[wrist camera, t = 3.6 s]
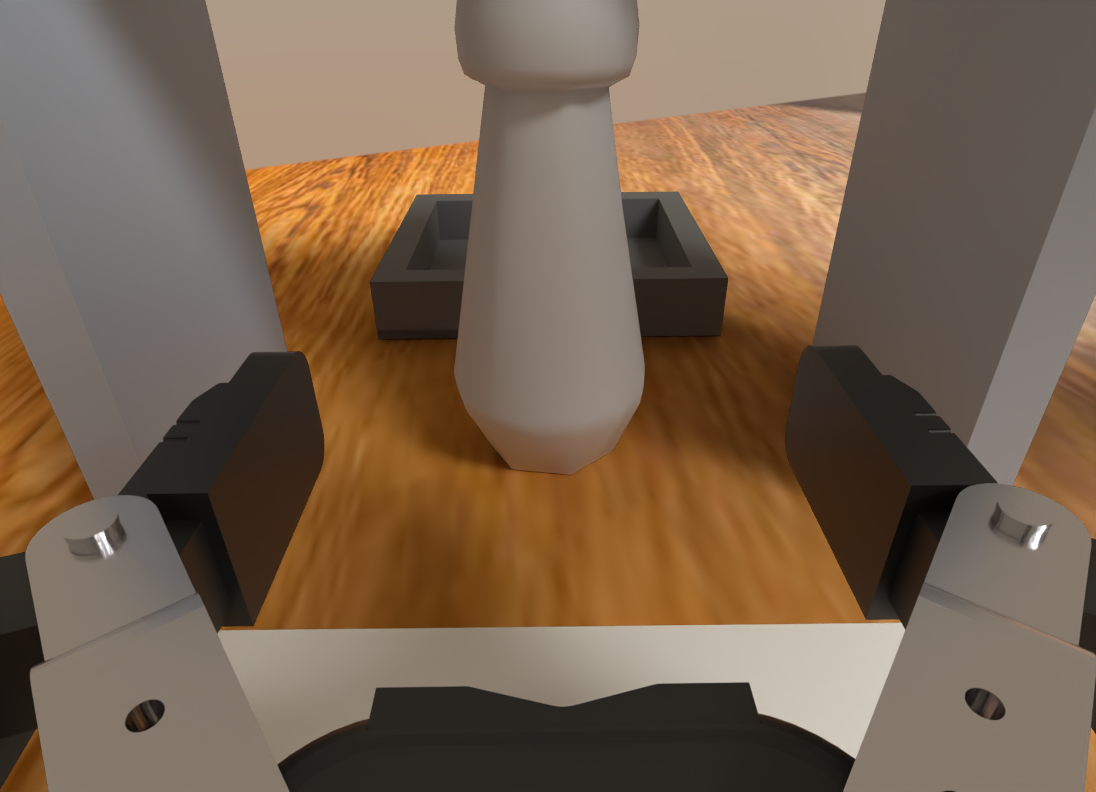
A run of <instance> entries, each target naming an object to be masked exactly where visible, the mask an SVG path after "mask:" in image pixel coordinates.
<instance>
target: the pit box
mask: <svg viewBox="0 0 1096 792" xmlns="http://www.w3.org/2000/svg"><path fill="white" fill-rule="evenodd" d="M621 198H622V207H623V214H624V221H625V228H626V235H627V242H628V249H629V256H630V263H631V271H632V278H633V285H634V292H635V299H636V306H637V313H638V320H639V327H640V334H641V336H705V335H721V328H722V321H723V313H724V306H725V298H726V291H727V283H728V277H727V275H726V273H725V272H724V270H723V268H722V266H721V265H720V263H719V261H718V260H717V258H716V256H715V254H714V253H713V251H712V249H711V247H710V246H709V244H708V242H707V241H706V239H705V237H704V235H703V234H702V232H701V230H700V228H699V227H698V225H697V223H696V222H695V220H694V218H693V216H692V215H691V213H690V211H689V210H688V208H687V206H686V204H685V203H684V201H683V199H682V197H681V196H680V194H679V192H621ZM472 202H473V194H435V195H416V197H415V199H414V201H413V203H412V205H411V207H410V208H409V210H408V212H407V214H406V216H405V218H404V220H403V221H402V223H401V225H400V227H399V229H398V231H397V232H396V234H395V236H394V238H393V240H392V242H391V244H390V245H389V247H388V249H387V251H386V253H385V255H384V257H383V258H382V260H381V262H380V264H379V266H378V268H377V270H376V271H375V273H374V275H373V277H372V279H371V281H370V287H371V294H372V300H373V307H374V313H375V320H376V326H377V333H378V339H439V338H458V331H459V322H460V312H461V303H462V294H463V285H464V276H465V266H466V257H467V248H468V239H469V230H470V220H471V211H472Z"/></svg>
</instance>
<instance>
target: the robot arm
mask: <svg viewBox="0 0 1096 792" xmlns="http://www.w3.org/2000/svg"><path fill="white" fill-rule="evenodd" d="M950 429H951V428H950V427H949V426H948V425H947V424H946V423H945V421H944V420H943V419H942V418H941V417H940V416H936V411H935V410H934V409H933V408H932V407H931V405H930V404H929V403H928V402H927V401H926V400H925V399H924V397H923V396H922V395H921V394H920V393H919V392H918V391H916V390H915V389H913V388H911V387H910V386H908V385H906V384H905V383H903V382H901V381H900V380H898V379H896V378H895V377H893V376H892V375H882V374H881V373H880V371H879V370H878V369H877V368H876V367H875V365H874V364H873V363H872V362H871V360H870V359H869V358H868V357H867V356H866V354H865V353H864V352H863V351H862V349H861V348H860V347H858V346H856V345H829V346H807V347H806V348H805V349H804V351H803V353H802V355H801V358H800V362H799V367H798V372H797V377H796V382H795V386H794V391H793V396H792V401H791V406H790V411H789V416H788V421H787V426H786V435H785V443H786V452H787V457H788V461H789V464H790V466H791V468H792V470H793V472H794V474H795V476H796V478H797V480H798V482H799V484H800V486H801V488H802V490H803V492H804V495H805V497H806V499H807V501H808V503H809V505H810V507H811V509H812V511H813V513H814V515H815V517H816V519H817V521H818V523H819V525H820V527H821V529H822V531H823V533H824V535H825V537H826V539H827V541H828V543H829V545H830V547H831V549H832V551H833V553H834V555H835V558H836V560H837V562H838V564H839V566H840V568H841V570H842V572H843V574H844V576H845V578H846V580H847V582H848V584H849V586H850V588H851V590H852V592H853V594H854V596H855V598H856V600H857V602H858V604H859V606H860V608H861V610H862V612H863V614H864V616H865V618H866V620H879V619H900V621H901V623H902V625H903V627H904V628H905V633H904V635H903V638H902V640H901V643H900V645H899V648H898V651H897V653H896V656H895V658H894V661H893V664H892V666H891V669H890V671H889V674H888V677H887V679H886V682H885V684H884V687H883V689H882V692H881V695H880V697H879V700H878V702H877V705H876V708H875V710H874V713H873V715H872V718H871V721H870V723H869V726H868V728H867V731H866V733H865V736H864V739H863V741H862V744H861V746H860V749H859V752H858V754H857V757H856V759H855V758H853V757H852V756H850V755H849V754H848V753H846V752H845V751H843V750H842V749H840V748H839V747H837V746H836V745H834V744H832V743H831V742H829V741H827V740H825V739H824V738H822V737H820V736H818V735H817V734H815V733H812V732H810V731H808V730H806V729H804V728H801V727H799V726H797V725H795V724H792V723H789V722H787V721H784V720H781V719H778V718H775V717H772V716H768V715H764V714H760V713H758V711H757V708H756V704H755V701H754V697H753V694H752V690H751V687H750V684H749V682H733V683H663V684H654V685H650V686H646V687H642V688H639V689H635V690H631V691H627V692H623V693H619V694H615V695H612V696H608V697H604V698H600V699H596V700H592V701H588V702H585V703H581V704H577V705H573V706H567V707H559V706H552V705H548V704H544V703H539V702H535V701H530V700H526V699H522V698H517V697H513V696H508V695H504V694H500V693H495V692H491V691H486V690H482V689H478V688H473V687H469V686H451V687H381V688H376V690H375V695H374V699H373V704H372V708H371V712H370V717H369V719H365V720H361V721H358V722H355V723H352V724H349V725H347V726H344V727H341V728H339V729H336V730H333V731H331V732H329V733H327V734H325V735H323V736H321V737H319V738H317V739H315V740H313V741H311V742H310V743H308V744H306V745H305V746H303V747H302V748H300V749H298V750H297V751H295V752H294V753H292V754H290V755H289V756H288V757H286V758H285V759H284V760H282V761H281V762H280V763H278V764H277V763H276V761H275V759H274V757H273V755H272V752H271V750H270V748H269V746H268V744H267V741H266V739H265V737H264V735H263V733H262V731H261V728H260V726H259V724H258V722H257V720H256V717H255V715H254V713H253V711H252V709H251V706H250V704H249V702H248V700H247V698H246V696H245V693H244V691H243V689H242V687H241V685H240V682H239V680H238V678H237V676H236V674H235V672H234V669H233V667H232V665H231V663H230V661H229V658H228V656H227V654H226V652H225V650H224V647H223V645H222V643H221V641H220V639H219V637H218V632H219V630H220V628H221V626H254V624H255V621H256V619H257V617H258V614H259V612H260V610H261V607H262V605H263V603H264V601H265V598H266V596H267V594H268V591H269V589H270V587H271V584H272V582H273V580H274V577H275V575H276V573H277V570H278V568H279V566H280V563H281V561H282V559H283V556H284V554H285V552H286V549H287V547H288V545H289V542H290V540H291V538H292V536H293V533H294V531H295V529H296V526H297V524H298V522H299V519H300V517H301V515H302V512H303V510H304V508H305V505H306V503H307V501H308V498H309V496H310V494H311V491H312V489H313V487H314V484H315V482H316V480H317V478H318V475H319V473H320V470H321V468H322V464H323V458H324V434H323V429H322V424H321V420H320V415H319V410H318V406H317V401H316V397H315V392H314V388H313V383H312V379H311V374H310V369H309V365H308V362H307V359H306V357H305V356H304V354H303V353H302V352H299V351H297V352H252V353H251V354H250V355H249V356H248V357H247V358H246V360H245V361H244V362H243V364H242V365H241V367H240V368H239V369H238V371H237V372H236V373H235V375H234V376H233V377H232V379H231V380H230V381H229V383H218V384H217V385H215V386H214V387H212V388H210V389H209V390H207V391H206V392H204V393H203V394H201V395H200V396H198V397H197V398H195V399H194V400H192V401H191V403H190V404H189V405H188V406H187V408H186V409H185V410H184V412H183V413H182V414H181V415H180V417H179V418H178V419H177V420H176V425H172V427H171V428H170V429H169V431H168V432H167V433H166V434H165V436H164V437H163V442H159V443H158V444H157V446H156V447H155V448H154V450H153V451H152V452H151V453H150V455H149V456H148V457H147V458H146V460H145V461H144V462H143V463H142V465H141V466H140V467H139V469H138V470H137V471H136V472H135V474H134V475H133V476H132V477H131V479H130V480H129V481H128V482H127V484H126V485H125V486H124V488H123V489H122V490H121V491H120V493H119V494H118V495H117V496H110V497H104V498H100V499H95V500H92V501H89V502H86V503H83V504H81V505H78V506H76V507H74V508H72V509H70V510H68V511H66V512H64V513H62V514H60V515H59V516H57V517H55V518H54V519H52V520H51V521H50V522H48V523H47V524H46V525H45V526H43V527H42V528H41V529H40V530H39V531H38V532H37V533H36V534H35V536H34V537H33V538H32V539H31V541H30V543H29V545H28V546H27V550H26V552H22V553H18V554H13V555H9V556H4V557H0V789H1V787H2V785H3V784H4V782H5V780H6V779H7V777H8V775H9V774H10V772H11V770H12V769H13V767H14V765H15V763H16V762H17V760H18V758H19V757H20V755H21V753H22V752H23V750H24V748H25V747H26V745H27V743H28V741H29V740H30V738H31V736H32V735H33V733H34V731H35V730H36V729H37V728H38V731H39V737H40V743H41V749H42V755H43V761H44V767H45V773H46V779H47V785H48V791H49V792H1084V790H1085V780H1086V770H1087V760H1088V750H1089V740H1090V730H1091V727H1092V729H1093V730H1094V732H1095V734H1096V539H1092V538H1091V537H1090V534H1089V532H1088V530H1087V529H1086V527H1085V525H1084V524H1083V523H1082V522H1081V521H1080V520H1079V519H1078V518H1077V517H1076V516H1075V515H1074V514H1073V513H1072V512H1070V511H1069V510H1068V509H1066V508H1065V507H1063V506H1062V505H1060V504H1059V503H1057V502H1055V501H1053V500H1052V499H1050V498H1047V497H1045V496H1043V495H1041V494H1039V493H1036V492H1033V491H1030V490H1027V489H1024V488H1020V487H1016V486H1012V485H1006V484H999V483H998V482H997V481H996V480H995V479H994V478H993V477H992V475H991V474H990V473H989V472H988V471H987V470H986V468H985V467H984V466H983V465H982V464H981V463H980V462H979V460H978V459H977V458H976V457H975V456H974V455H973V454H972V452H971V451H970V450H969V449H968V448H967V447H966V446H965V444H964V443H963V442H962V441H961V440H960V439H959V438H958V436H957V435H956V434H955V433H951V432H950Z"/></svg>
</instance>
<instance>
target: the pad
mask: <svg viewBox="0 0 1096 792" xmlns="http://www.w3.org/2000/svg"><path fill="white" fill-rule="evenodd" d="M904 633H905V628H904V627H903V625H902V623H847V624H755V625H663V626H572V627H480V628H388V629H297V630H219V632H218V637H219V639H220V641H221V643H222V645H223V647H224V650H225V652H226V654H227V656H228V658H229V661H230V663H231V665H232V667H233V669H234V672H235V674H236V676H237V678H238V680H239V682H240V685H241V687H242V689H243V691H244V693H245V696H246V698H247V700H248V702H249V704H250V706H251V709H252V711H253V713H254V715H255V717H256V720H257V722H258V724H259V726H260V728H261V731H262V733H263V735H264V737H265V739H266V741H267V744H268V746H269V748H270V750H271V752H272V755H273V757H274V759H275V761H276V763H277V764H278V763H280V762H281V761H282V760H284V759H285V758H286V757H288V756H289V755H290V754H292V753H294V752H295V751H297V750H298V749H300V748H302V747H303V746H305V745H306V744H308V743H310V742H311V741H313V740H315V739H317V738H319V737H321V736H323V735H325V734H327V733H329V732H331V731H333V730H336V729H339V728H341V727H344V726H347V725H349V724H352V723H355V722H358V721H361V720H365V719H369V717H370V712H371V708H372V704H373V699H374V695H375V690H376V688H381V687H451V686H469V687H473V688H478V689H482V690H486V691H491V692H495V693H500V694H504V695H508V696H513V697H517V698H522V699H526V700H530V701H535V702H539V703H544V704H548V705H552V706H559V707H567V706H573V705H577V704H581V703H585V702H588V701H592V700H596V699H600V698H604V697H608V696H612V695H615V694H619V693H623V692H627V691H631V690H635V689H639V688H642V687H646V686H650V685H654V684H663V683H733V682H749V684H750V687H751V690H752V694H753V697H754V701H755V704H756V708H757V711H758V713H760V714H764V715H768V716H772V717H775V718H778V719H781V720H784V721H787V722H789V723H792V724H795V725H797V726H799V727H801V728H804V729H806V730H808V731H810V732H812V733H815V734H817V735H818V736H820V737H822V738H824V739H825V740H827V741H829V742H831V743H832V744H834V745H836V746H837V747H839V748H840V749H842V750H843V751H845V752H846V753H848V754H849V755H850V756H852V757H853V758H855V759H856V757H857V754H858V752H859V749H860V746H861V744H862V741H863V739H864V736H865V733H866V731H867V728H868V726H869V723H870V721H871V718H872V715H873V713H874V710H875V708H876V705H877V702H878V700H879V697H880V695H881V692H882V689H883V687H884V684H885V682H886V679H887V677H888V674H889V671H890V669H891V666H892V664H893V661H894V658H895V656H896V653H897V651H898V648H899V645H900V643H901V640H902V638H903V635H904Z"/></svg>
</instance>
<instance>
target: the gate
mask: <svg viewBox="0 0 1096 792" xmlns="http://www.w3.org/2000/svg"><path fill="white" fill-rule="evenodd" d="M0 294H1V297H2V299H3V301H4V303H5V305H6V308H7V310H8V312H9V314H10V316H11V318H12V321H13V323H14V325H15V327H16V329H17V332H18V334H19V336H20V338H21V340H22V343H23V345H24V347H25V349H26V351H27V354H28V356H29V358H30V360H31V362H32V364H33V367H34V369H35V371H36V373H37V375H38V378H39V380H40V382H41V384H42V386H43V389H44V391H45V393H46V395H47V397H48V399H49V402H50V404H51V406H52V408H53V410H54V413H55V415H56V417H57V419H58V421H59V424H60V426H61V428H62V430H63V432H64V435H65V437H66V439H67V441H68V443H69V445H70V448H71V450H72V452H73V454H74V456H75V459H76V461H77V463H78V465H79V467H80V470H81V472H82V474H83V476H84V478H85V480H86V483H87V485H88V487H89V489H90V491H91V494H92V496H93V498H94V500H95V499H100V498H104V497H110V496H117V495H118V494H119V493H120V491H121V490H122V489H123V488H124V486H125V485H126V484H127V482H128V481H129V480H130V479H131V477H132V476H133V475H134V474H135V472H136V471H137V470H138V469H139V467H140V466H141V465H142V463H143V462H144V461H145V460H146V458H147V457H148V456H149V455H150V453H151V452H152V451H153V450H154V448H155V447H156V446H157V444H158V443H159V442H163V437H164V436H165V434H166V433H167V432H168V431H169V429H170V428H171V427H172V425H176V420H177V419H178V418H179V417H180V415H181V414H182V413H183V412H184V410H185V409H186V408H187V406H188V405H189V404H190V403H191V401H192V400H194V399H195V398H197V397H198V396H200V395H201V394H203V393H204V392H206V391H207V390H209V389H210V388H212V387H214V386H215V385H217V384H218V383H229V381H230V380H231V379H232V377H233V376H234V375H235V373H236V372H237V371H238V369H239V368H240V367H241V365H242V364H243V362H244V361H245V360H246V358H247V357H248V356H249V355H250V354H251V353H252V352H287V348H286V344H285V339H284V335H283V331H282V326H281V322H280V318H279V314H278V309H277V305H276V301H275V297H274V292H273V288H272V284H271V279H270V275H269V271H268V267H267V262H266V258H265V254H264V249H263V245H262V241H261V237H260V232H259V228H258V224H257V220H256V215H255V211H254V207H253V202H252V198H251V194H250V190H249V185H248V181H247V177H246V173H245V168H244V164H243V160H242V155H241V151H240V147H239V143H238V138H237V134H236V130H235V126H234V121H233V117H232V113H231V109H230V104H229V100H228V96H227V92H226V87H225V83H224V79H223V74H222V70H221V66H220V62H219V57H218V53H217V49H216V44H215V40H214V36H213V31H212V27H211V23H210V19H209V14H208V10H207V6H206V2H205V0H0ZM1095 295H1096V0H886V2H885V8H884V12H883V17H882V21H881V26H880V31H879V35H878V40H877V45H876V49H875V54H874V59H873V63H872V69H871V73H870V77H869V82H868V87H867V92H866V96H865V101H864V106H863V110H862V115H861V120H860V124H859V129H858V134H857V138H856V143H855V148H854V152H853V157H852V162H851V166H850V171H849V176H848V181H847V185H846V190H845V195H844V199H843V204H842V209H841V213H840V218H839V223H838V227H837V232H836V237H835V241H834V246H833V251H832V256H831V260H830V265H829V270H828V274H827V279H826V284H825V288H824V293H823V298H822V302H821V307H820V312H819V316H818V321H817V326H816V330H815V335H814V340H813V345H812V346H829V345H856V346H858V347H860V348H861V349H862V351H863V352H864V353H865V354H866V356H867V357H868V358H869V359H870V360H871V362H872V363H873V364H874V365H875V367H876V368H877V369H878V370H879V371H880V373H881V374H882V375H892V376H893V377H895V378H896V379H898V380H900V381H901V382H903V383H905V384H906V385H908V386H910V387H911V388H913V389H915V390H916V391H918V392H919V393H920V394H921V395H922V396H923V397H924V399H925V400H926V401H927V402H928V403H929V404H930V405H931V407H932V408H933V409H934V410H935V411H936V416H940V417H941V418H942V419H943V420H944V421H945V423H946V424H947V425H948V426H949V427H950V428H951V429H950V432H951V433H955V434H956V435H957V436H958V438H959V439H960V440H961V441H962V442H963V443H964V444H965V446H966V447H967V448H968V449H969V450H970V451H971V452H972V454H973V455H974V456H975V457H976V458H977V459H978V460H979V462H980V463H981V464H982V465H983V466H984V467H985V468H986V470H987V471H988V472H989V473H990V474H991V475H992V477H993V478H994V479H995V480H996V481H997V482H998V483H999V484H1006V485H1013V483H1014V481H1015V479H1016V476H1017V474H1018V472H1019V469H1020V467H1021V465H1022V462H1023V460H1024V458H1025V456H1026V453H1027V451H1028V449H1029V446H1030V444H1031V442H1032V440H1033V437H1034V435H1035V433H1036V430H1037V428H1038V426H1039V423H1040V421H1041V419H1042V417H1043V414H1044V412H1045V410H1046V407H1047V405H1048V403H1049V400H1050V398H1051V396H1052V394H1053V391H1054V389H1055V387H1056V384H1057V382H1058V380H1059V377H1060V375H1061V373H1062V371H1063V368H1064V366H1065V364H1066V361H1067V359H1068V357H1069V355H1070V352H1071V350H1072V348H1073V345H1074V343H1075V341H1076V338H1077V336H1078V334H1079V332H1080V329H1081V327H1082V325H1083V322H1084V320H1085V318H1086V315H1087V313H1088V311H1089V309H1090V306H1091V304H1092V302H1093V299H1094V297H1095Z"/></svg>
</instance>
